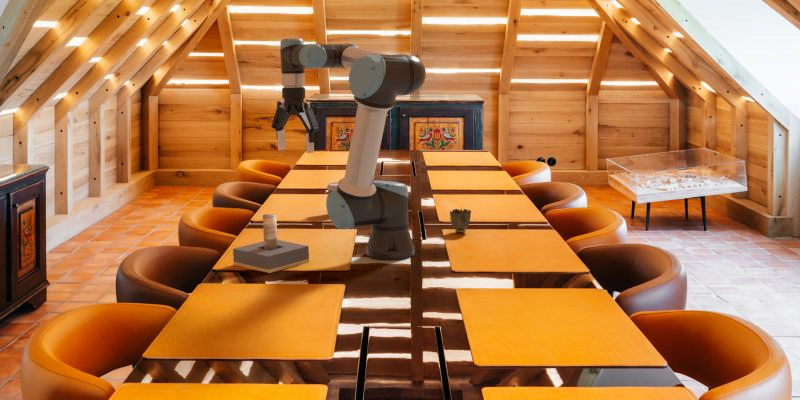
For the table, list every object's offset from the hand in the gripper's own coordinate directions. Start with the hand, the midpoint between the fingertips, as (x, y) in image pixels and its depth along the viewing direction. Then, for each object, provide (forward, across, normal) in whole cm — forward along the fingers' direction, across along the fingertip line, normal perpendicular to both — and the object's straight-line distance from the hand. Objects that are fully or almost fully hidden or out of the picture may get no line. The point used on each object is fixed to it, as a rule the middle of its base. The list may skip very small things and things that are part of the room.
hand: (295, 151), depth 272 cm
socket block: (+31, -14, +25) cm, 42 cm away
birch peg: (+30, -14, +25) cm, 41 cm away
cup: (+31, -36, -43) cm, 64 cm away
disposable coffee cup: (+31, +22, -43) cm, 57 cm away
